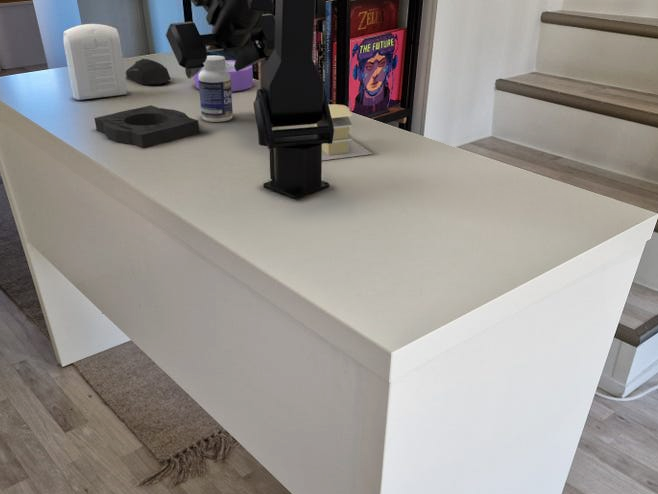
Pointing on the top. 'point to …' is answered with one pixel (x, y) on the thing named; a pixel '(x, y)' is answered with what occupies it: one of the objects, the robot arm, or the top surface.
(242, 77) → the tape roll
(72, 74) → the white upright block
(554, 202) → the top surface
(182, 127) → the pad
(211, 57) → the pill bottle
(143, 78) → the gaming mouse
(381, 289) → the top surface
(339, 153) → the stacked layers on plate
